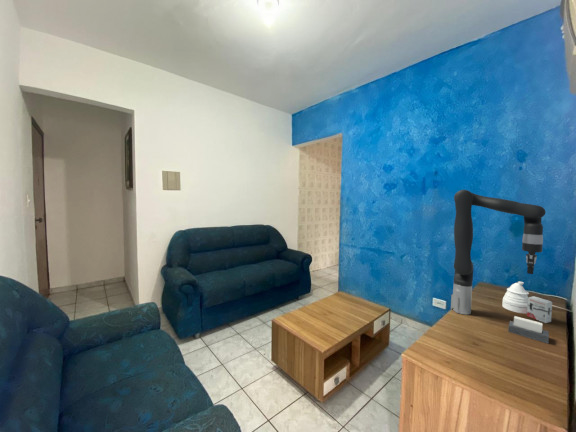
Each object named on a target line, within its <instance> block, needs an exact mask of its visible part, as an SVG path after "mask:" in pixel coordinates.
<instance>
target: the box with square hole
mask: <svg viewBox="0 0 576 432" xmlns="http://www.w3.org/2000/svg"><path fill="white" fill-rule="evenodd" d="M507 332H508V333H511V334H515V335H518V336H522V337H524V338H527V339H531V340H534V341H538V342H540V341H541V343H544V344H549V339H550V334H549V333H550V331H549V330H544V329H542V333H537V332H534V331H532V330H528V329H525V328H520V327H516V326H514V320H513V321H511V320H509V324H508V330H507Z"/></svg>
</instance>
